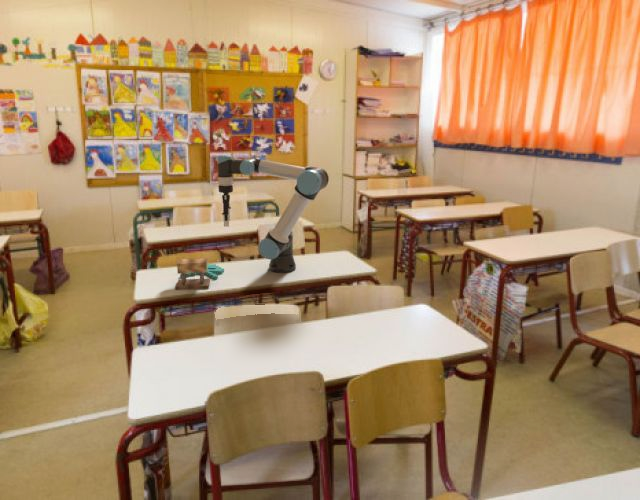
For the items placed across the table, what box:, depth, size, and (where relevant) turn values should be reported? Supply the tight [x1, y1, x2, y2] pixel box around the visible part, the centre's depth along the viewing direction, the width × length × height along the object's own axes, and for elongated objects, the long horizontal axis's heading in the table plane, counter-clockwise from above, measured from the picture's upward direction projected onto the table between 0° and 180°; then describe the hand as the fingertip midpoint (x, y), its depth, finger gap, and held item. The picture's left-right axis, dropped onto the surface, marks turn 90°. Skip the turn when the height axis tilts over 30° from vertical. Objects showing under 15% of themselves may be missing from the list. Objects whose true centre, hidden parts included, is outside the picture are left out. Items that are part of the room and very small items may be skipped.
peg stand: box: [175, 273, 211, 291], centre depth 247 cm, size 16×11×8 cm
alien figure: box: [179, 263, 225, 281], centre depth 267 cm, size 20×2×20 cm
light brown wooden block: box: [176, 257, 208, 275], centre depth 245 cm, size 14×8×5 cm, turn 101°
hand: (227, 223), depth 265 cm, fingers open, 13 cm apart
